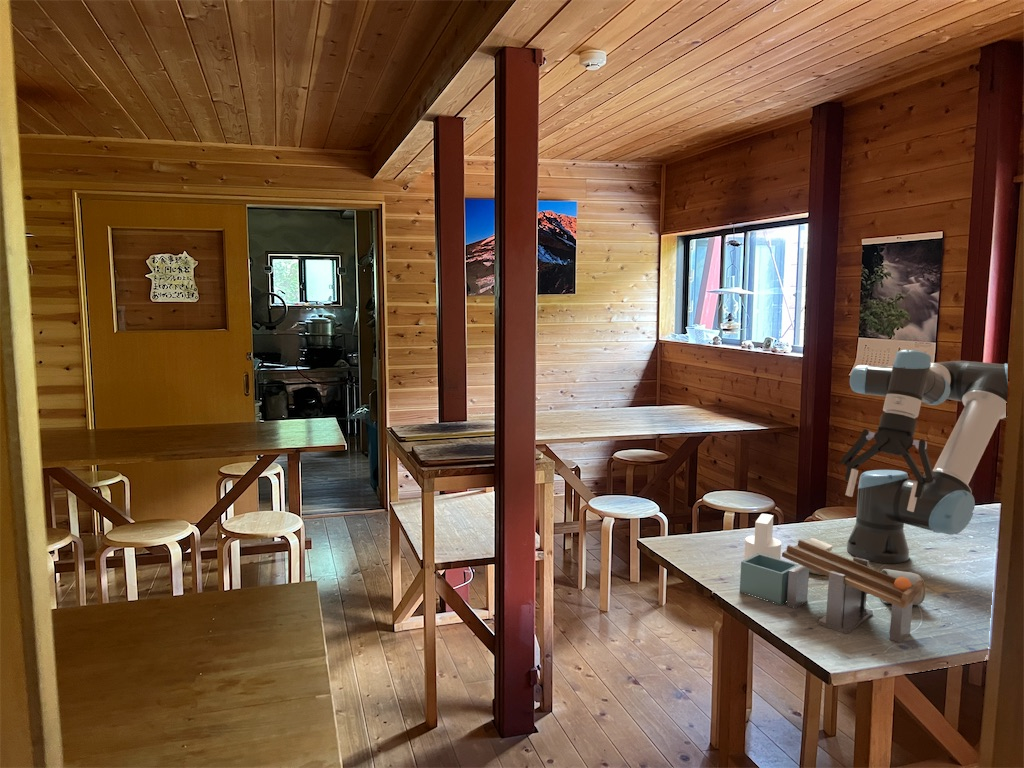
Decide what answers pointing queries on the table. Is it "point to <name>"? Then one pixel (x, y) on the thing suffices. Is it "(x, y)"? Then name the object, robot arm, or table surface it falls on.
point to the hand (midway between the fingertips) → (878, 503)
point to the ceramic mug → (913, 579)
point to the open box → (765, 578)
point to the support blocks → (845, 603)
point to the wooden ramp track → (851, 571)
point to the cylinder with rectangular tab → (763, 539)
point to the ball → (902, 584)
